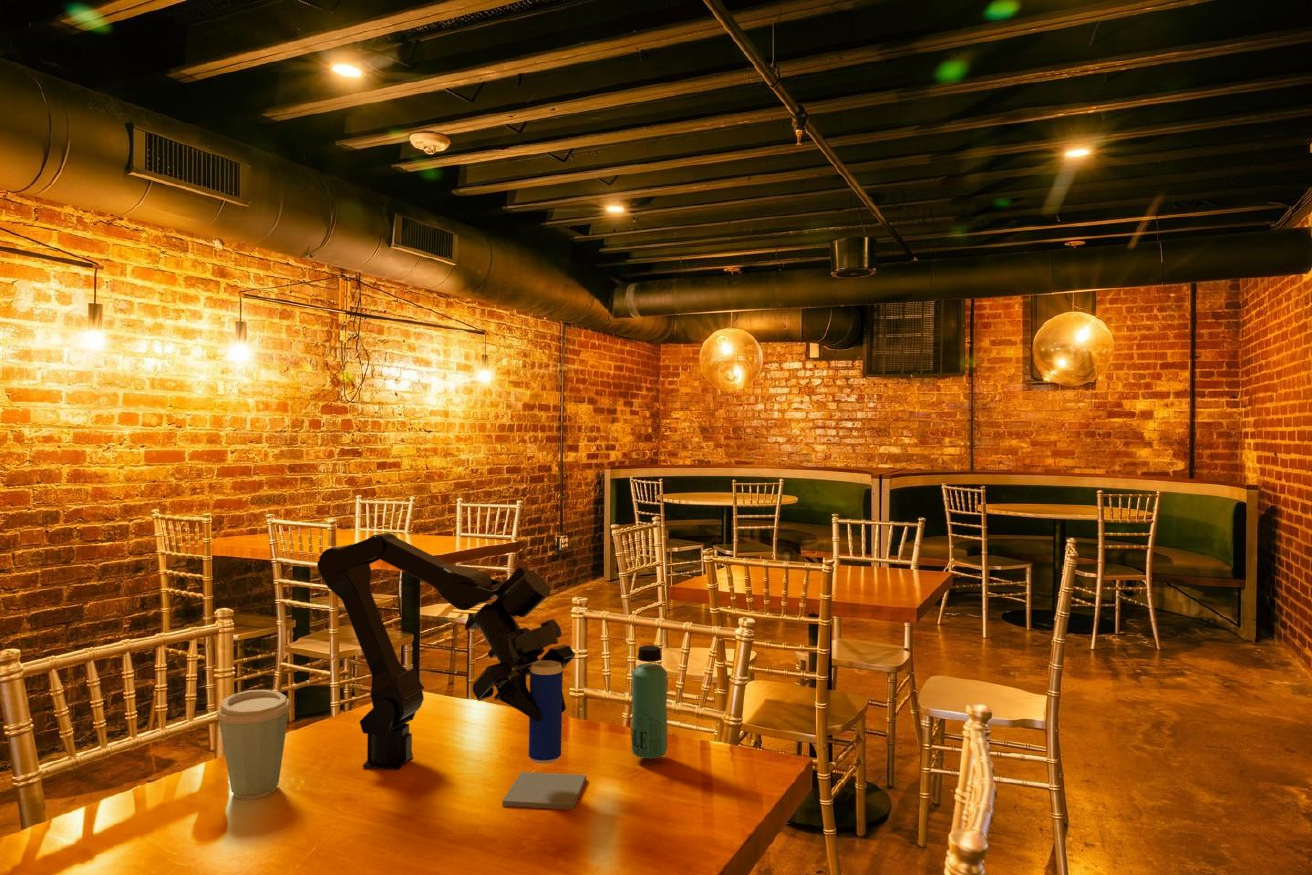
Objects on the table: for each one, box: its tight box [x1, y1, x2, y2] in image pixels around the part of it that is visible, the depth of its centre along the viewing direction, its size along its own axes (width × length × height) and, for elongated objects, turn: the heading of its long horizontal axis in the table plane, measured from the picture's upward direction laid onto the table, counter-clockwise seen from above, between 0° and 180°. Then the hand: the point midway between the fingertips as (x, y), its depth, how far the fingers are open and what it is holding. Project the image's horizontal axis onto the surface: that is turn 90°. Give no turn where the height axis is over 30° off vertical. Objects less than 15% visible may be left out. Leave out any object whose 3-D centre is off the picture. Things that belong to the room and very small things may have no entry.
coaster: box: [502, 771, 587, 811], centre depth 130 cm, size 11×11×1 cm
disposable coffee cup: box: [216, 689, 292, 801], centre depth 129 cm, size 11×11×15 cm
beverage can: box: [528, 660, 564, 764], centre depth 130 cm, size 5×5×15 cm
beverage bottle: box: [630, 644, 669, 759], centre depth 143 cm, size 6×7×20 cm
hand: (552, 715), depth 129 cm, fingers closed on beverage can, 5 cm apart
